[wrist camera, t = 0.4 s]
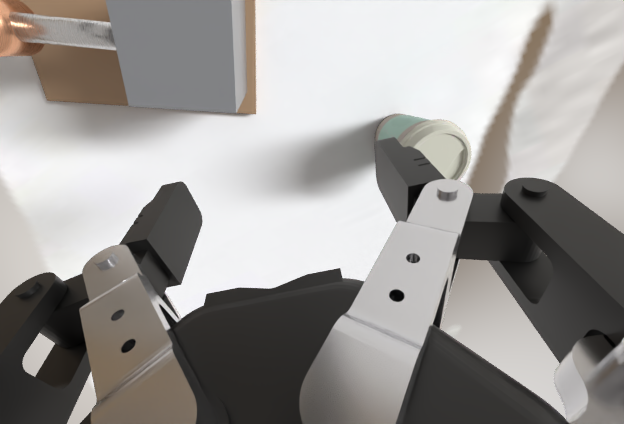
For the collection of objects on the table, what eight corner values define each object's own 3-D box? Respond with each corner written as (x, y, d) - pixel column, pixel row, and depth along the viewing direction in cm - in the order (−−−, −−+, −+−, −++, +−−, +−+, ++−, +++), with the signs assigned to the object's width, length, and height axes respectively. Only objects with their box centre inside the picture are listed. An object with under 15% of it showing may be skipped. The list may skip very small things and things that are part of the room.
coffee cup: (381, 173, 43) (415, 213, 33) (355, 126, 39) (385, 155, 29) (432, 142, 41) (485, 173, 31) (410, 89, 37) (464, 105, 27)
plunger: (-4, 53, 25) (-61, 54, 21) (-29, -10, 23) (-99, -23, 18) (163, 67, 27) (143, 71, 23) (155, 11, 25) (131, 4, 21)
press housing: (54, 98, 33) (-71, 128, 21) (-2, -64, 26) (-237, -161, 14) (256, 112, 36) (249, 144, 24) (254, -28, 29) (244, -80, 17)
